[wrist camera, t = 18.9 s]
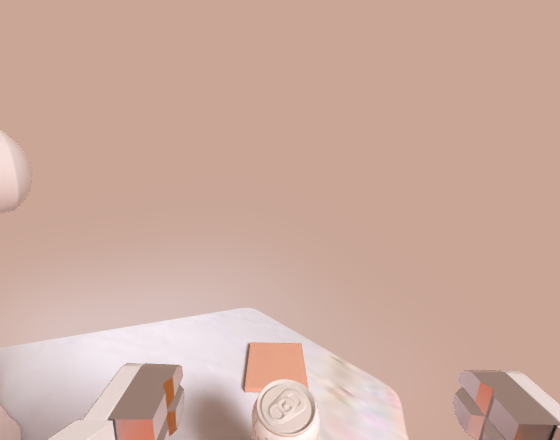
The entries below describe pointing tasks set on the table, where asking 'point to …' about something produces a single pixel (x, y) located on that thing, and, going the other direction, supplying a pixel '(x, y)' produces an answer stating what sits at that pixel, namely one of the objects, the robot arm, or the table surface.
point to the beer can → (285, 412)
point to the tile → (274, 364)
